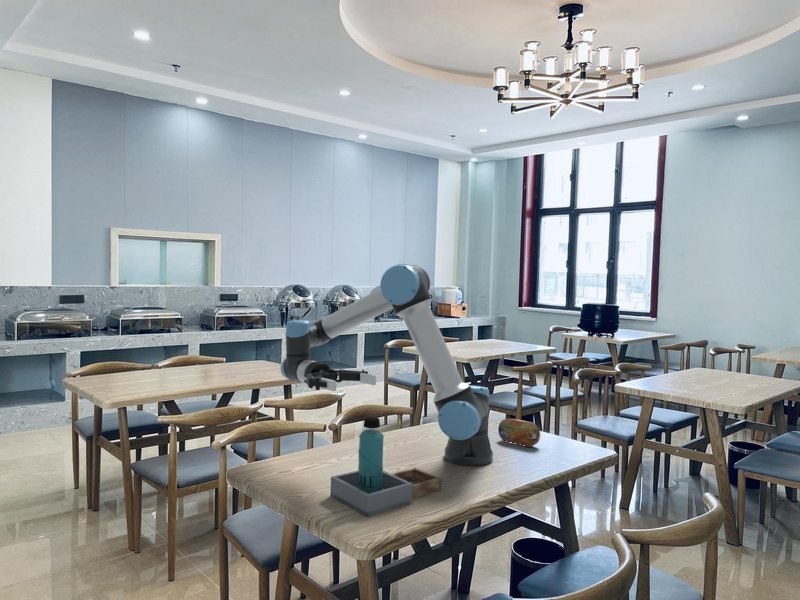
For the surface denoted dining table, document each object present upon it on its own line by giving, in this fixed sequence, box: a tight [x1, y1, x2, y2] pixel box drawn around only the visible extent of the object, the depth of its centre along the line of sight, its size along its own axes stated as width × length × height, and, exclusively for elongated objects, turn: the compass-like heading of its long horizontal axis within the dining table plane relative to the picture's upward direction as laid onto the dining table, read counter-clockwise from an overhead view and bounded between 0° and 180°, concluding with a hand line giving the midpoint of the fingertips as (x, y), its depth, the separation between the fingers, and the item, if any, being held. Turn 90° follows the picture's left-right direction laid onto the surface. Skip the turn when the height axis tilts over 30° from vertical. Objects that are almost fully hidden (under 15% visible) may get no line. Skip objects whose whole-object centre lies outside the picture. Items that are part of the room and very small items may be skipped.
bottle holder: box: [390, 466, 443, 499], centre depth 157 cm, size 11×11×3 cm
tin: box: [498, 418, 541, 448], centre depth 201 cm, size 15×3×8 cm, turn 50°
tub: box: [329, 470, 414, 518], centre depth 148 cm, size 14×16×5 cm
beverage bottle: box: [357, 416, 385, 494], centre depth 148 cm, size 6×7×20 cm
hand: (355, 383), depth 161 cm, fingers open, 13 cm apart
